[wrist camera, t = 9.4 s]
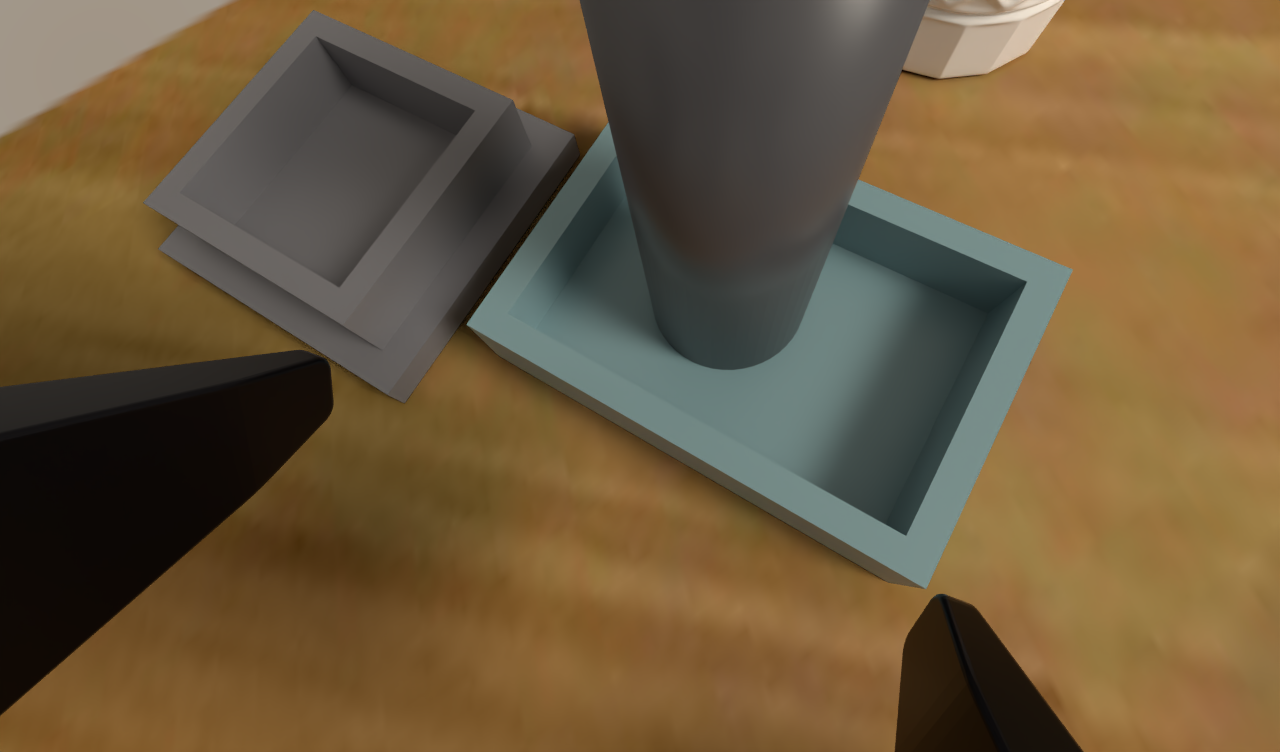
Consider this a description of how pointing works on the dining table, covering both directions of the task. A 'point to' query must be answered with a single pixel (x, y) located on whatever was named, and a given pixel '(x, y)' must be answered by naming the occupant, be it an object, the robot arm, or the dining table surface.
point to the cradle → (361, 198)
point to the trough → (797, 364)
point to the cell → (742, 150)
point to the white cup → (976, 35)
